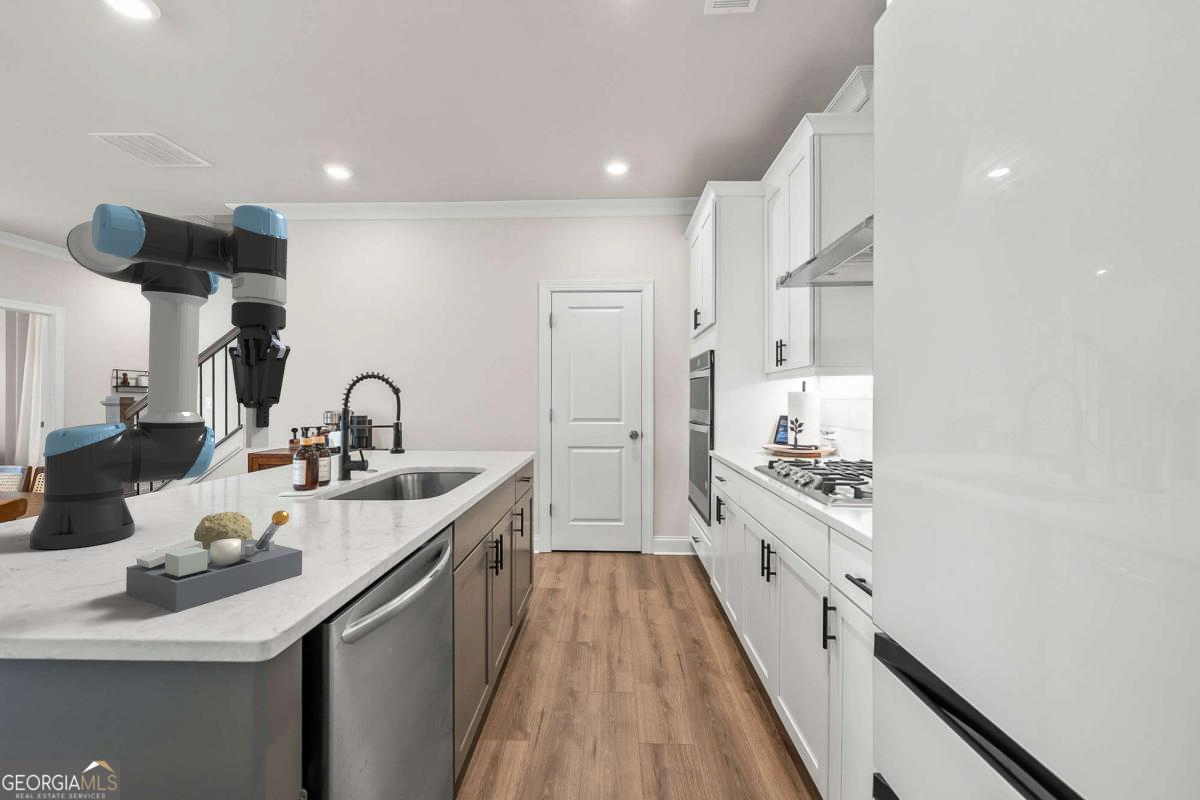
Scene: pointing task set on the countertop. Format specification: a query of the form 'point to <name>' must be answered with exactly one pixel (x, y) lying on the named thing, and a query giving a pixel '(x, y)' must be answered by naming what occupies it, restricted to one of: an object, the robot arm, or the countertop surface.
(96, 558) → the countertop surface
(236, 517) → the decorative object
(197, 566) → the button square
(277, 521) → the lever
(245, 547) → the panel
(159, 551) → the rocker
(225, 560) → the button round
